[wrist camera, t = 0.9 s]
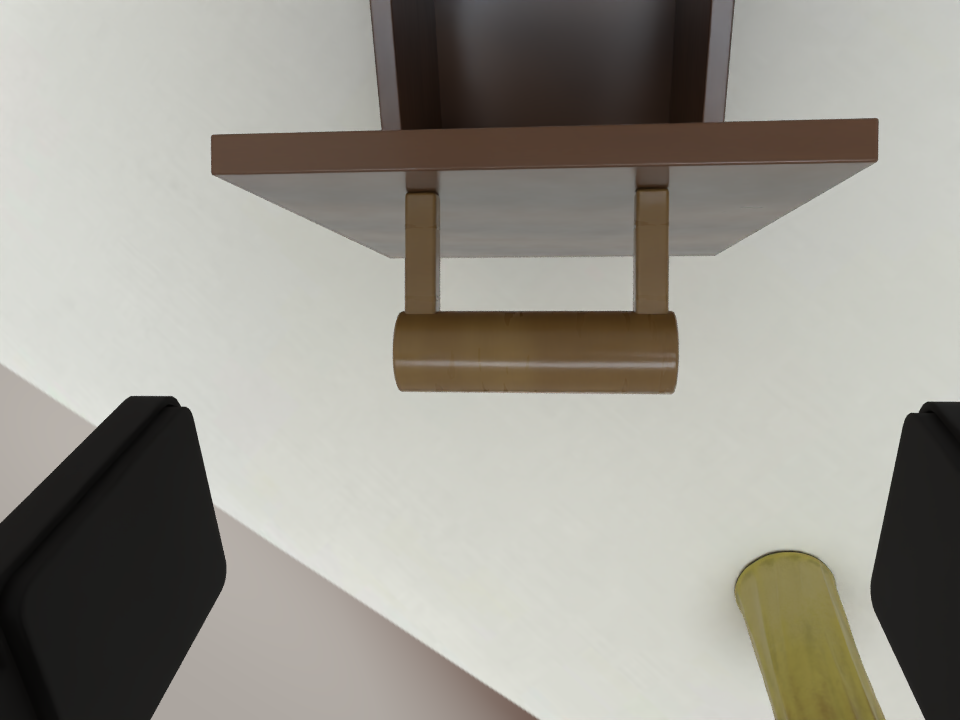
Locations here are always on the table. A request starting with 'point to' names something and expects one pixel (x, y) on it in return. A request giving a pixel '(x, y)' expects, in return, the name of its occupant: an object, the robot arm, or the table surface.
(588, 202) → the lid
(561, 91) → the chest
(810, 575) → the vase
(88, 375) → the table surface
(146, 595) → the robot arm
